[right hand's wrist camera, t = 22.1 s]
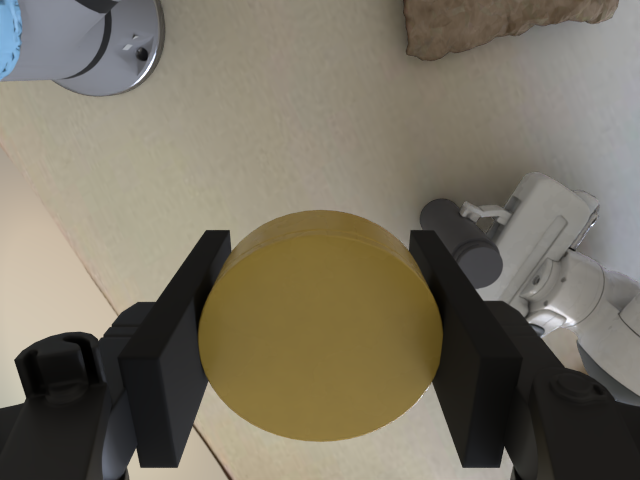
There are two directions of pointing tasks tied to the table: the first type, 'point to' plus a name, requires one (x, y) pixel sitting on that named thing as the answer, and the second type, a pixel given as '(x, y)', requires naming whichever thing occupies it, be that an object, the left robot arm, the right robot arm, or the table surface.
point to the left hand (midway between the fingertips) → (447, 233)
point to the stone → (488, 21)
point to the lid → (320, 328)
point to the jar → (464, 242)
